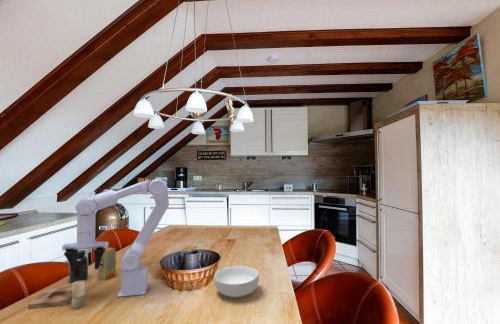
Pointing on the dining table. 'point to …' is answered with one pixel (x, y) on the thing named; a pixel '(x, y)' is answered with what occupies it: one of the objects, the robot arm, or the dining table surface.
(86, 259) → the supplement bottle
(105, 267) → the shoe polish box
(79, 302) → the peg
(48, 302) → the socket block
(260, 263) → the dining table surface
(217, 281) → the cereal bowl
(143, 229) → the robot arm
